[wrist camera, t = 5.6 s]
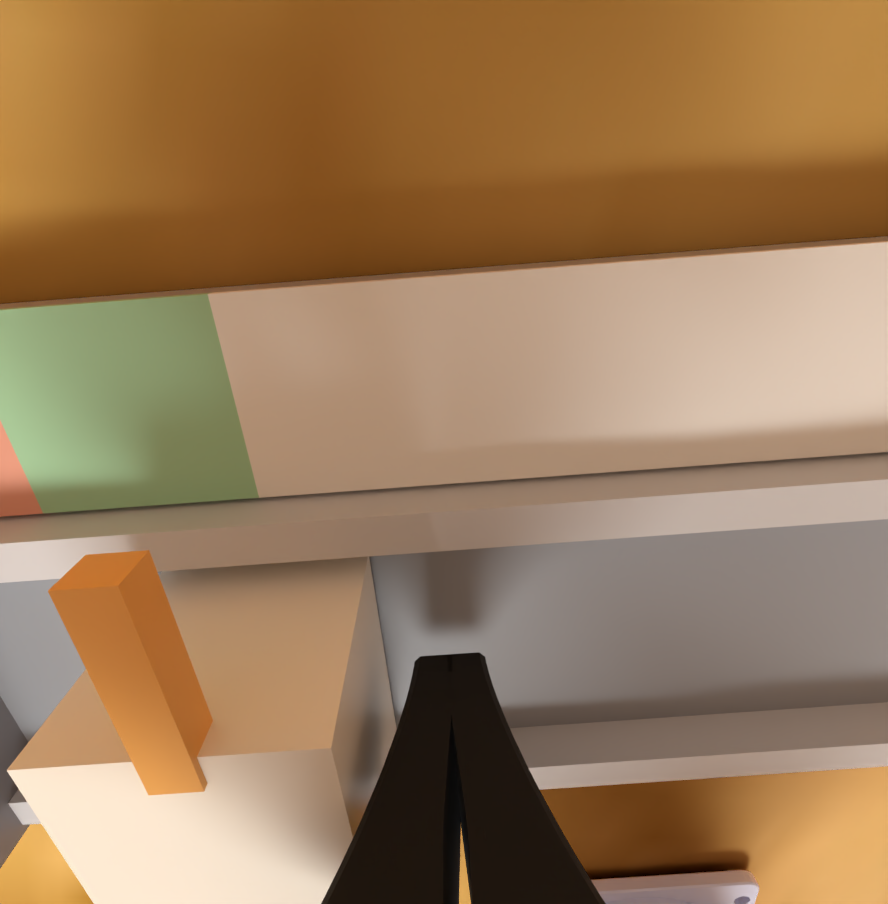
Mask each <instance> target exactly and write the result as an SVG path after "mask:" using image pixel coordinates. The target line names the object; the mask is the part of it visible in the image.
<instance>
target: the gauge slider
mask: <svg viewBox="0 0 888 904" xmlns="http://www.w3.org/2000/svg"><path fill="white" fill-rule="evenodd" d="M48 593H49V595H50V597H51V599H52V601H53V603H54V605H55V607H56V609H57V611H58V613H59V615H60V617H61V619H62V621H63V623H64V625H65V627H66V629H67V631H68V633H69V635H70V637H71V640H72V642H73V644H74V646H75V648H76V650H77V652H78V654H79V656H80V658H81V660H82V662H83V664H84V666H85V668H86V670H85V671H84V672H83V673H82V675H81V676H80V677H79V678H78V680H77V681H76V682H75V684H74V685H73V686H72V687H71V689H70V690H69V691H68V693H67V694H66V695H65V696H64V698H63V699H62V700H61V701H60V703H59V704H58V705H57V707H56V708H55V709H54V710H53V712H52V713H51V714H50V716H49V717H48V718H47V719H46V721H45V722H44V723H43V724H42V726H41V727H40V728H39V730H38V731H37V732H36V733H35V735H34V736H33V737H32V739H31V740H30V741H29V742H28V744H27V745H26V746H25V747H24V749H23V750H22V751H21V753H20V754H19V755H18V756H17V758H16V759H15V760H14V762H13V763H12V764H11V765H10V767H9V768H8V769H7V772H8V773H9V775H10V776H11V778H12V780H13V781H14V783H15V784H16V786H17V787H18V789H19V790H20V792H21V793H22V795H23V796H24V798H25V799H26V801H27V802H28V804H29V805H30V807H31V808H32V810H33V812H34V813H35V815H36V816H37V818H38V819H39V821H40V822H41V824H42V825H43V827H44V828H45V830H46V831H47V833H48V834H49V836H50V837H51V839H52V840H53V842H54V844H55V845H56V847H57V848H58V850H59V851H60V853H61V854H62V856H63V857H64V859H65V860H66V862H67V863H68V865H69V866H70V868H71V869H72V871H73V872H74V874H75V876H76V877H77V879H78V880H79V882H80V883H81V885H82V886H83V888H84V889H85V891H86V892H87V894H88V895H89V897H90V898H91V900H92V901H93V903H94V904H321V903H322V901H323V899H324V897H325V895H326V893H327V891H328V889H329V887H330V885H331V883H332V881H333V879H334V877H335V875H336V873H337V871H338V869H339V867H340V865H341V863H342V860H343V858H344V856H345V854H346V852H347V850H348V848H349V846H350V843H351V841H352V839H353V837H354V835H355V833H356V830H357V828H358V826H359V824H360V821H361V819H362V816H363V814H364V812H365V809H366V807H367V805H368V802H369V800H370V798H371V795H372V793H373V791H374V788H375V786H376V783H377V781H378V779H379V776H380V774H381V771H382V769H383V766H384V763H385V760H386V758H387V755H388V752H389V749H390V747H391V744H392V741H393V738H394V736H395V733H396V730H397V729H396V722H395V716H394V710H393V703H392V697H391V691H390V685H389V678H388V672H387V666H386V659H385V653H384V647H383V641H382V634H381V628H380V622H379V616H378V609H377V603H376V597H375V590H374V584H373V578H372V572H371V565H370V559H369V556H368V557H354V558H340V559H326V560H313V561H299V562H285V563H271V564H257V565H243V566H229V567H215V568H201V569H187V570H173V571H162V572H161V574H160V575H158V572H157V570H156V567H155V564H154V562H153V559H152V556H151V554H150V551H149V550H144V551H130V552H116V553H103V554H89V555H85V556H84V557H83V558H82V559H81V560H80V561H79V562H78V563H76V564H75V565H74V566H73V567H72V568H71V569H70V570H69V571H68V572H67V573H66V574H65V575H64V576H63V577H62V578H61V579H60V580H59V581H57V582H56V583H55V584H54V585H53V586H52V587H51V588H50V589H49V590H48Z"/></svg>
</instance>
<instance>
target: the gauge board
mask: <svg viewBox="0 0 888 904" xmlns="http://www.w3.org/2000/svg"><path fill="white" fill-rule="evenodd" d="M144 550H149V551H150V554H151V556H152V559H153V562H154V564H155V567H156V570H157V572H158V575H160V574H161V572H162V571H173V570H187V569H201V568H215V567H229V566H243V565H257V564H271V563H285V562H299V561H313V560H326V559H340V558H354V557H368V556H369V559H370V565H371V572H372V578H373V584H374V590H375V597H376V603H377V609H378V616H379V622H380V628H381V634H382V641H383V647H384V653H385V659H386V666H387V672H388V678H389V685H390V691H391V697H392V703H393V710H394V716H395V722H396V729H397V727H398V724H399V721H400V718H401V715H402V711H403V708H404V705H405V702H406V698H407V695H408V691H409V687H410V683H411V678H412V674H413V668H414V663H415V661H416V660H417V659H418V658H419V657H420V656H432V655H447V654H462V653H477V652H479V653H481V654H482V655H483V656H485V659H486V663H487V668H488V671H489V675H490V678H491V681H492V684H493V687H494V690H495V693H496V695H497V698H498V701H499V703H500V706H501V708H502V711H503V713H504V716H505V718H506V721H507V723H508V725H509V728H510V730H511V732H512V734H513V737H514V739H515V741H516V743H517V745H518V747H519V749H520V751H521V754H522V756H523V758H524V760H525V762H526V764H527V766H528V768H529V770H530V772H531V774H532V776H533V778H534V780H535V782H536V784H537V786H538V788H539V790H544V789H559V788H573V787H588V786H603V785H618V784H632V783H647V782H662V781H677V780H691V779H706V778H721V777H736V776H750V775H765V774H780V773H795V772H809V771H824V770H839V769H854V768H868V767H883V766H888V236H880V237H866V238H853V239H840V240H827V241H814V242H801V243H788V244H775V245H762V246H749V247H736V248H723V249H710V250H697V251H684V252H671V253H658V254H644V255H631V256H618V257H605V258H592V259H579V260H566V261H553V262H540V263H527V264H514V265H501V266H488V267H475V268H462V269H449V270H436V271H422V272H409V273H396V274H383V275H370V276H357V277H344V278H331V279H318V280H305V281H292V282H279V283H266V284H253V285H240V286H227V287H214V288H201V289H187V290H174V291H161V292H148V293H135V294H122V295H109V296H96V297H83V298H70V299H57V300H44V301H31V302H18V303H5V304H0V868H1V867H2V865H3V864H4V862H5V861H6V859H7V858H8V856H9V855H10V853H11V852H12V850H13V849H14V847H15V846H16V844H17V843H18V841H19V840H20V838H21V837H22V835H23V834H24V832H25V831H26V829H27V828H28V827H29V825H30V824H41V822H40V821H39V819H38V818H37V816H36V815H35V813H34V812H33V810H32V808H31V807H30V805H29V804H28V802H27V801H26V799H25V798H24V796H23V795H22V793H21V792H20V790H19V789H18V787H17V786H16V784H15V783H14V781H13V780H12V778H11V776H10V775H9V773H8V772H7V769H8V768H9V767H10V765H11V764H12V763H13V762H14V760H15V759H16V758H17V756H18V755H19V754H20V753H21V751H22V750H23V749H24V747H25V746H26V745H27V744H28V742H29V741H30V740H31V739H32V737H33V736H34V735H35V733H36V732H37V731H38V730H39V728H40V727H41V726H42V724H43V723H44V722H45V721H46V719H47V718H48V717H49V716H50V714H51V713H52V712H53V710H54V709H55V708H56V707H57V705H58V704H59V703H60V701H61V700H62V699H63V698H64V696H65V695H66V694H67V693H68V691H69V690H70V689H71V687H72V686H73V685H74V684H75V682H76V681H77V680H78V678H79V677H80V676H81V675H82V673H83V672H84V671H85V670H86V668H85V666H84V664H83V662H82V660H81V658H80V656H79V654H78V652H77V650H76V648H75V646H74V644H73V642H72V640H71V637H70V635H69V633H68V631H67V629H66V627H65V625H64V623H63V621H62V619H61V617H60V615H59V613H58V611H57V609H56V607H55V605H54V603H53V601H52V599H51V597H50V595H49V593H48V590H49V589H50V588H51V587H52V586H53V585H54V584H55V583H56V582H57V581H59V580H60V579H61V578H62V577H63V576H64V575H65V574H66V573H67V572H68V571H69V570H70V569H71V568H72V567H73V566H74V565H75V564H76V563H78V562H79V561H80V560H81V559H82V558H83V557H84V556H85V555H89V554H103V553H116V552H130V551H144Z"/></svg>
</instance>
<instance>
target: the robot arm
mask: <svg viewBox="0 0 888 904" xmlns="http://www.w3.org/2000/svg"><path fill="white" fill-rule="evenodd" d="M461 828H462V835H463V843H464V851H465V859H466V867H467V874H468V882H469V890H470V898H471V904H754V903H755V900H756V897H757V894H758V891H759V885H758V883H757V881H756V879H755V877H754V875H753V874H752V873H751V872H749V871H746V870H730V871H715V872H700V873H685V874H670V875H655V876H640V877H625V878H610V879H595V880H591V879H590V878H589V876H588V874H587V873H586V871H585V870H584V868H583V866H582V865H581V863H580V861H579V860H578V858H577V856H576V855H575V853H574V851H573V850H572V848H571V846H570V844H569V843H568V841H567V839H566V837H565V836H564V834H563V832H562V830H561V829H560V827H559V825H558V823H557V822H556V820H555V818H554V816H553V814H552V812H551V810H550V809H549V807H548V805H547V803H546V801H545V799H544V797H543V796H542V794H541V792H540V790H539V788H538V786H537V784H536V782H535V780H534V778H533V776H532V774H531V772H530V770H529V768H528V766H527V764H526V762H525V760H524V758H523V756H522V754H521V751H520V749H519V747H518V745H517V743H516V741H515V739H514V737H513V734H512V732H511V730H510V728H509V725H508V723H507V721H506V718H505V716H504V713H503V711H502V708H501V706H500V703H499V701H498V698H497V695H496V693H495V690H494V687H493V684H492V681H491V678H490V675H489V671H488V668H487V663H486V659H485V656H483V655H482V654H481V653H479V652H477V653H462V654H447V655H432V656H420V657H419V658H418V659H417V660H416V661H415V663H414V668H413V674H412V678H411V683H410V687H409V691H408V695H407V698H406V702H405V705H404V708H403V711H402V715H401V718H400V721H399V724H398V727H397V730H396V733H395V736H394V738H393V741H392V744H391V747H390V749H389V752H388V755H387V758H386V760H385V763H384V766H383V769H382V771H381V774H380V776H379V779H378V781H377V783H376V786H375V788H374V791H373V793H372V795H371V798H370V800H369V802H368V805H367V807H366V809H365V812H364V814H363V816H362V819H361V821H360V824H359V826H358V828H357V830H356V833H355V835H354V837H353V839H352V841H351V843H350V846H349V848H348V850H347V852H346V854H345V856H344V858H343V860H342V863H341V865H340V867H339V869H338V871H337V873H336V875H335V877H334V879H333V881H332V883H331V885H330V887H329V889H328V891H327V893H326V895H325V897H324V899H323V901H322V903H321V904H459V872H460V831H461Z"/></svg>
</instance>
